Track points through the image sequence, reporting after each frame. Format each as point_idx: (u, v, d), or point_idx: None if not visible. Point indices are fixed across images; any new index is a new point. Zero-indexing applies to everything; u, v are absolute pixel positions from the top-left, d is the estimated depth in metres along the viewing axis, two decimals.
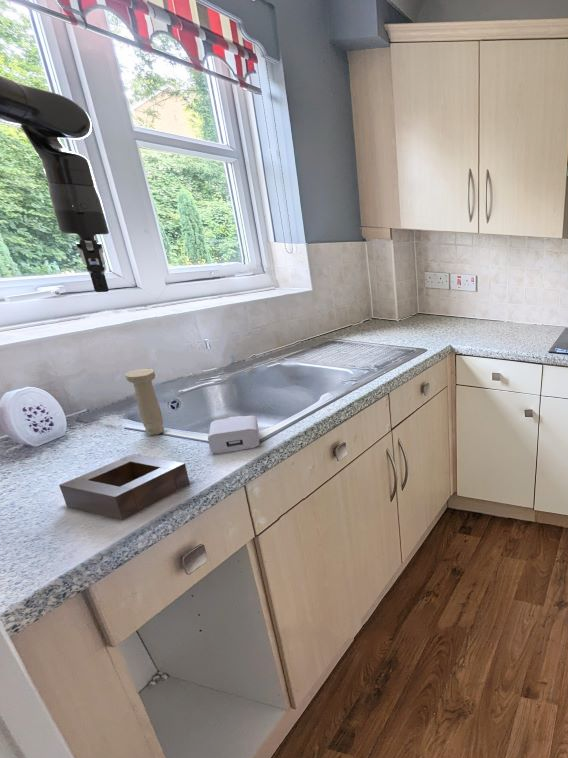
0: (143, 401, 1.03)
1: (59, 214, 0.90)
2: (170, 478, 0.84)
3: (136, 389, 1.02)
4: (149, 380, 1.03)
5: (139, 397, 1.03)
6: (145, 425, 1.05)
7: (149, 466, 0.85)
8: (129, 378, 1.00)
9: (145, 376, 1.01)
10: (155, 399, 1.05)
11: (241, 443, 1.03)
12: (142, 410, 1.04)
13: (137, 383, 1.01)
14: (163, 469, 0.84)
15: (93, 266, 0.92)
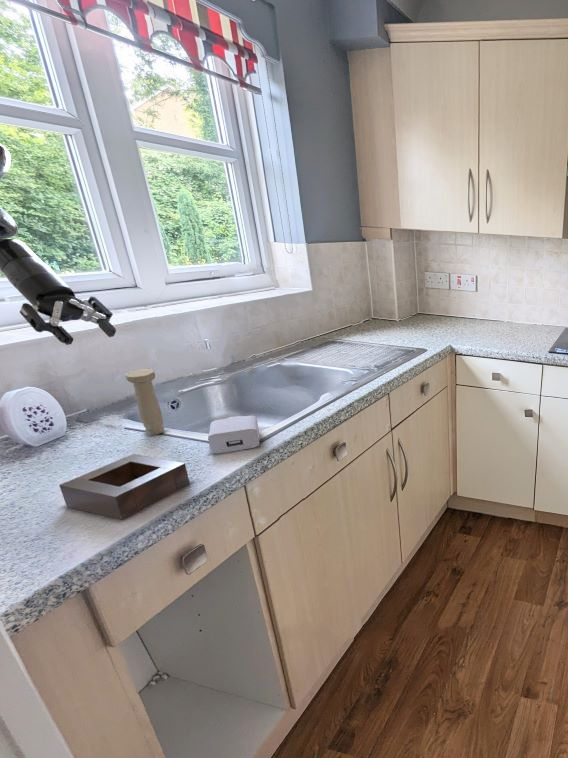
0: (143, 401, 1.03)
1: (57, 277, 1.02)
2: (170, 478, 0.84)
3: (136, 389, 1.02)
4: (149, 380, 1.03)
5: (139, 397, 1.03)
6: (145, 425, 1.05)
7: (149, 466, 0.85)
8: (129, 378, 1.00)
9: (145, 376, 1.01)
10: (155, 399, 1.05)
11: (241, 443, 1.03)
12: (142, 410, 1.04)
13: (137, 383, 1.01)
14: (163, 469, 0.84)
15: None
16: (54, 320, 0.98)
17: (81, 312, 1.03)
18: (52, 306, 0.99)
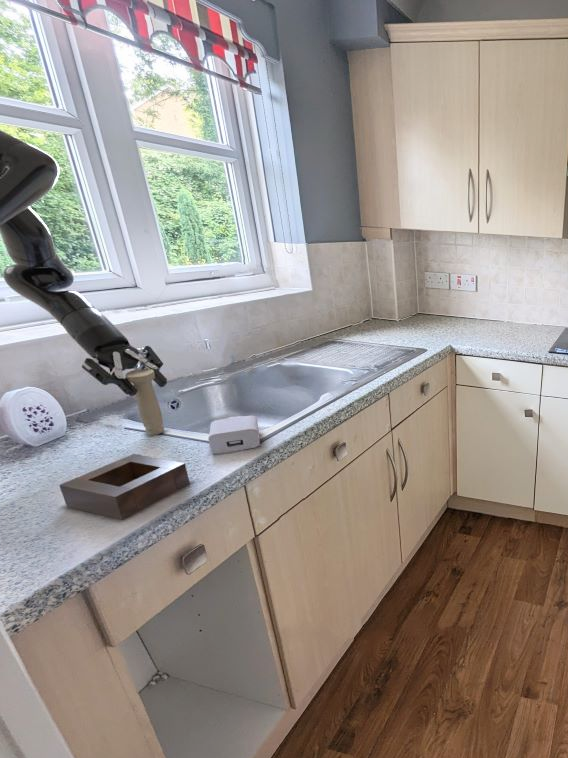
0: (143, 401, 1.03)
1: (114, 327, 1.03)
2: (170, 478, 0.84)
3: None
4: (149, 380, 1.03)
5: (139, 397, 1.03)
6: (145, 425, 1.05)
7: (149, 466, 0.85)
8: (129, 378, 1.00)
9: (145, 376, 1.01)
10: (155, 399, 1.05)
11: (241, 443, 1.03)
12: (142, 410, 1.04)
13: (137, 383, 1.01)
14: (163, 469, 0.84)
15: None
16: (118, 372, 0.99)
17: (136, 361, 1.04)
18: (110, 357, 1.00)
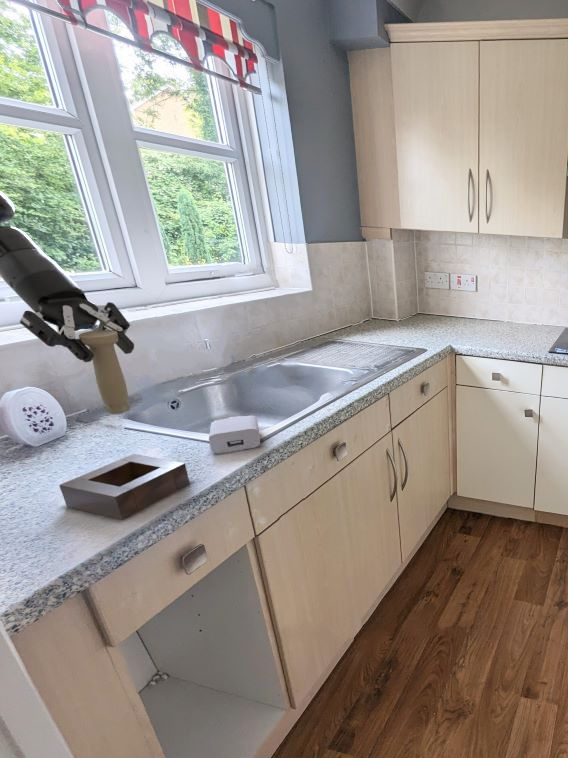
0: (101, 370, 0.81)
1: (65, 275, 0.81)
2: (170, 478, 0.84)
3: None
4: (110, 343, 0.81)
5: (97, 365, 0.81)
6: (105, 401, 0.83)
7: (149, 466, 0.85)
8: (83, 339, 0.78)
9: (104, 337, 0.79)
10: (118, 368, 0.83)
11: (242, 443, 1.03)
12: (101, 381, 0.82)
13: (94, 346, 0.79)
14: (163, 469, 0.84)
15: None
16: (68, 331, 0.77)
17: (94, 319, 0.82)
18: (59, 312, 0.78)
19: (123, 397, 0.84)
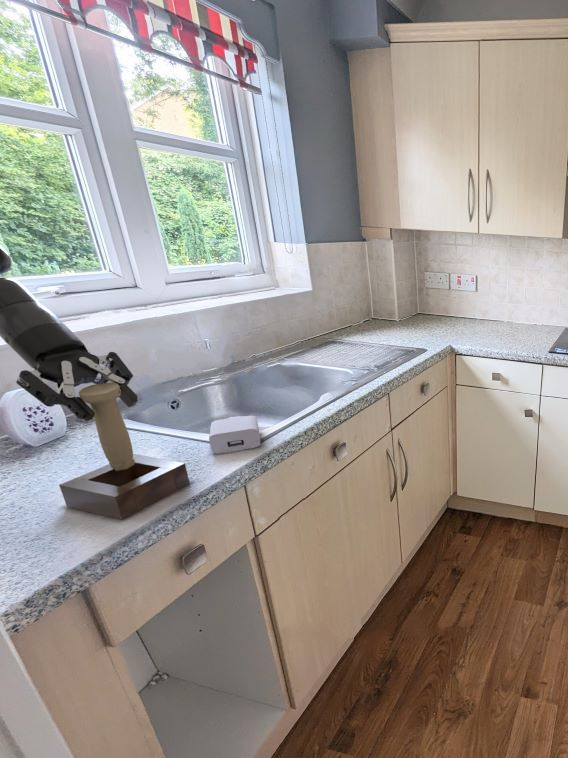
0: (104, 427, 0.77)
1: (64, 327, 0.76)
2: (170, 478, 0.84)
3: (94, 411, 0.76)
4: (112, 399, 0.76)
5: (99, 422, 0.77)
6: (108, 458, 0.79)
7: (149, 466, 0.85)
8: (83, 397, 0.73)
9: (105, 394, 0.75)
10: (121, 423, 0.79)
11: (242, 443, 1.03)
12: (103, 438, 0.77)
13: (95, 403, 0.75)
14: (163, 469, 0.84)
15: None
16: (67, 389, 0.73)
17: (95, 373, 0.78)
18: (57, 368, 0.74)
19: (127, 453, 0.80)
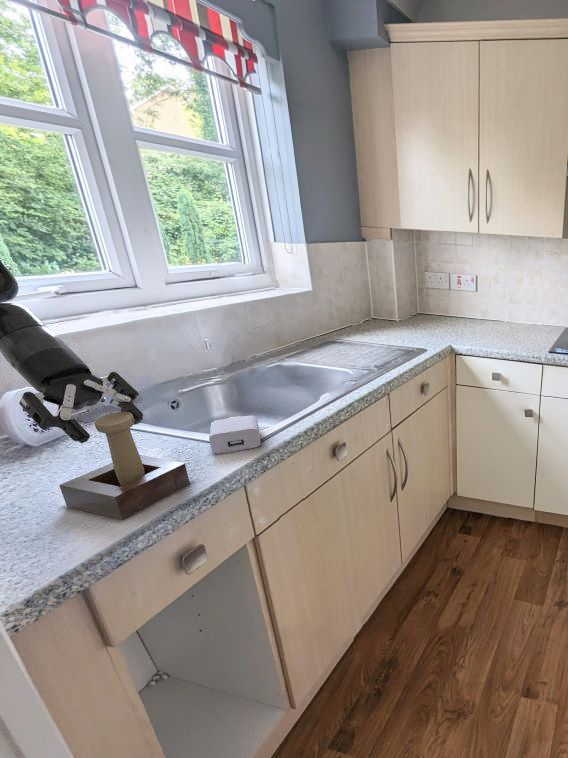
0: (118, 455, 0.80)
1: (69, 351, 0.78)
2: (170, 478, 0.84)
3: (109, 440, 0.79)
4: (126, 428, 0.79)
5: (113, 450, 0.79)
6: None
7: (149, 466, 0.85)
8: (99, 428, 0.76)
9: (120, 424, 0.77)
10: (135, 451, 0.82)
11: (242, 443, 1.03)
12: (118, 466, 0.80)
13: (110, 433, 0.78)
14: (163, 469, 0.84)
15: None
16: (65, 411, 0.74)
17: (99, 396, 0.79)
18: (62, 392, 0.75)
19: None
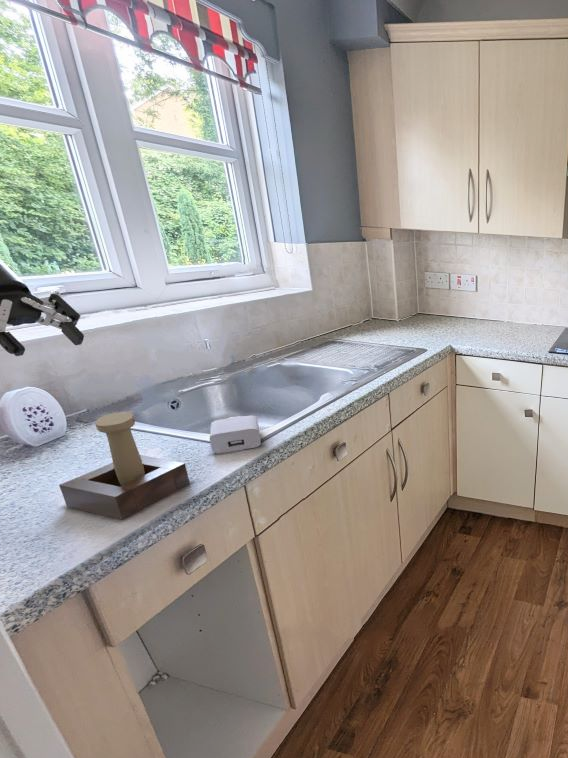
0: (118, 455, 0.80)
1: (6, 268, 0.79)
2: (170, 478, 0.84)
3: (110, 440, 0.79)
4: (126, 428, 0.79)
5: (114, 450, 0.79)
6: None
7: (149, 466, 0.85)
8: (99, 427, 0.76)
9: (121, 424, 0.78)
10: (135, 451, 0.82)
11: (242, 443, 1.03)
12: (118, 466, 0.80)
13: (110, 433, 0.78)
14: (163, 469, 0.84)
15: None
16: None
17: (38, 314, 0.80)
18: None
19: None
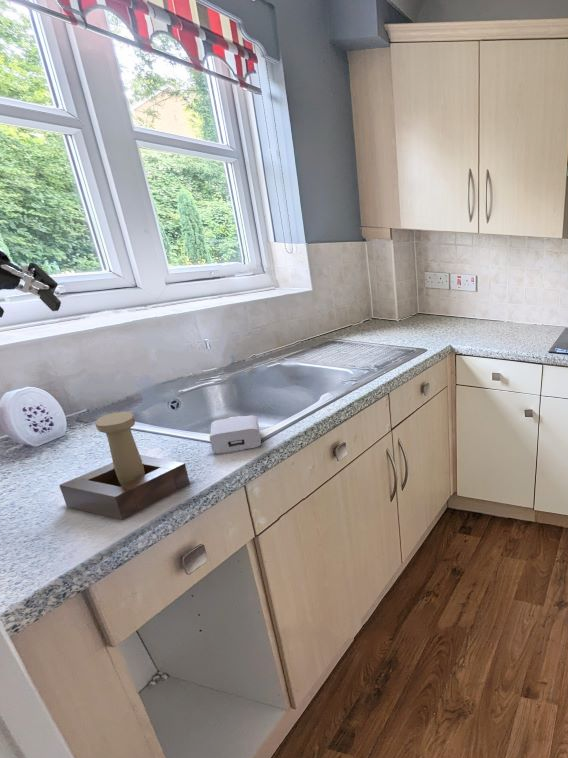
0: (118, 455, 0.80)
1: None
2: (170, 478, 0.84)
3: (110, 440, 0.79)
4: (126, 428, 0.79)
5: (114, 450, 0.79)
6: None
7: (149, 466, 0.85)
8: (99, 427, 0.76)
9: (121, 424, 0.78)
10: (135, 451, 0.82)
11: (243, 443, 1.03)
12: (118, 466, 0.80)
13: (110, 433, 0.78)
14: (163, 469, 0.84)
15: None
16: None
17: (17, 280, 0.86)
18: None
19: None
